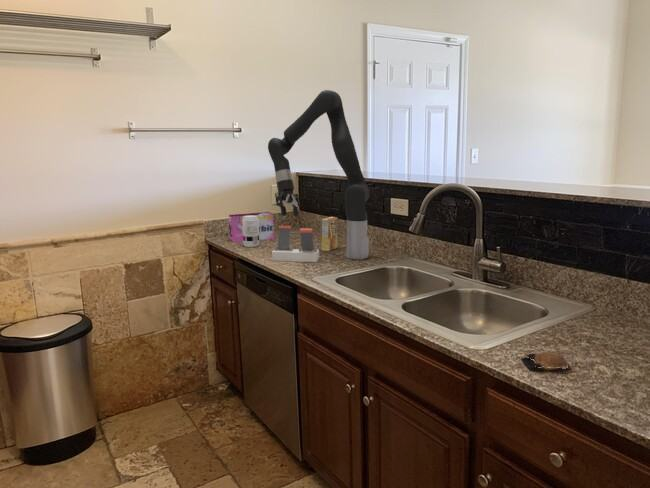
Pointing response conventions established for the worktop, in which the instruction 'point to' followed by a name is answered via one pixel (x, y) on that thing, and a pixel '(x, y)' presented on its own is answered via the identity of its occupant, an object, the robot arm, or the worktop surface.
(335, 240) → the candy box
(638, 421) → the worktop surface
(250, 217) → the supplement can
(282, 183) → the robot arm
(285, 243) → the far paddle
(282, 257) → the white paddle base
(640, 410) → the worktop surface
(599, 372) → the worktop surface
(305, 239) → the near paddle
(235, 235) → the gum box
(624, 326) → the worktop surface
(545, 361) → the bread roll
